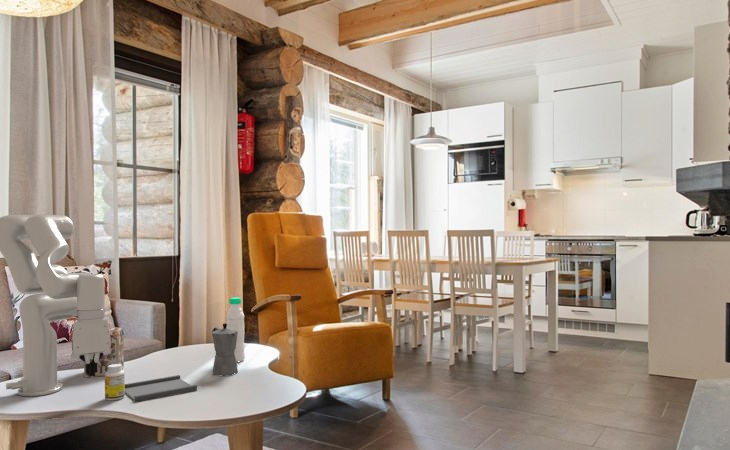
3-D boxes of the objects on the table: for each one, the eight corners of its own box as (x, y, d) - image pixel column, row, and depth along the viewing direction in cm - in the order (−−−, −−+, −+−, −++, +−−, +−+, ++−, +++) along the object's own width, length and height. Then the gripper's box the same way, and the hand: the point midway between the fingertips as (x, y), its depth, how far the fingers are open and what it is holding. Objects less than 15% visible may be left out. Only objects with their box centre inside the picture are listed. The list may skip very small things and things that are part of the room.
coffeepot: (246, 373, 197) (245, 323, 197) (222, 378, 191) (222, 327, 191) (224, 366, 208) (224, 319, 209) (201, 371, 202) (201, 322, 202)
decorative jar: (83, 378, 194) (83, 327, 194) (90, 370, 205) (90, 322, 205) (119, 375, 197) (119, 325, 197) (124, 367, 208) (124, 320, 208)
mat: (135, 401, 165) (135, 397, 165) (121, 389, 179) (121, 384, 179) (196, 390, 177) (196, 385, 177) (179, 379, 190) (178, 375, 190)
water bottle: (224, 359, 219) (224, 297, 219) (242, 358, 222) (242, 296, 222) (228, 363, 213) (227, 299, 213) (246, 361, 216) (245, 298, 216)
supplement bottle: (106, 396, 171) (106, 363, 171) (125, 395, 173) (125, 362, 173) (103, 401, 166) (103, 368, 166) (123, 400, 167) (123, 366, 168)
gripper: (65, 319, 158) (65, 382, 158) (120, 313, 167) (120, 374, 167) (61, 316, 164) (61, 377, 164) (114, 311, 173) (114, 369, 173)
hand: (91, 375), depth 165 cm, fingers closed
